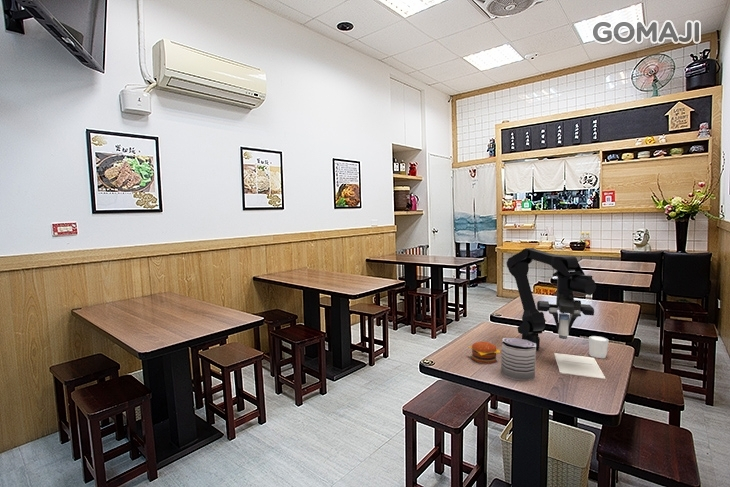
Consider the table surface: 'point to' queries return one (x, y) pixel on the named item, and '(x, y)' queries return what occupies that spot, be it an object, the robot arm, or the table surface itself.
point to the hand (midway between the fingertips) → (563, 330)
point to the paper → (578, 365)
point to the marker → (563, 325)
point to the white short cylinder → (598, 346)
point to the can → (518, 359)
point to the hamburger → (484, 352)
